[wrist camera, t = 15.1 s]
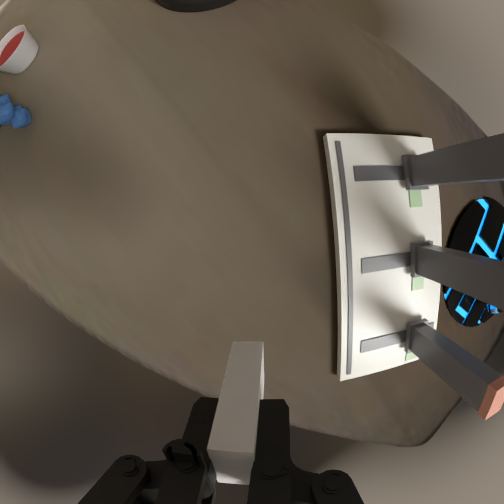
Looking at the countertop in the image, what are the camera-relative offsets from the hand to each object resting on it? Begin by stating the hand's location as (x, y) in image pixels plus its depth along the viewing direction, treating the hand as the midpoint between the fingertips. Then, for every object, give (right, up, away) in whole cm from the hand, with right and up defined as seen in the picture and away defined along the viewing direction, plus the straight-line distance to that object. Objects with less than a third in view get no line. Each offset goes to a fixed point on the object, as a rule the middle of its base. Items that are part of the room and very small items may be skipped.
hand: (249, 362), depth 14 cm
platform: (+39, +4, +22) cm, 45 cm away
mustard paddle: (+21, +16, +16) cm, 31 cm away
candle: (-40, +40, +13) cm, 59 cm away
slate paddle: (+22, +5, +18) cm, 29 cm away
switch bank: (+18, +5, +20) cm, 28 cm away
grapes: (-37, +27, +15) cm, 48 cm away
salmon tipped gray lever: (+23, -6, +20) cm, 31 cm away
